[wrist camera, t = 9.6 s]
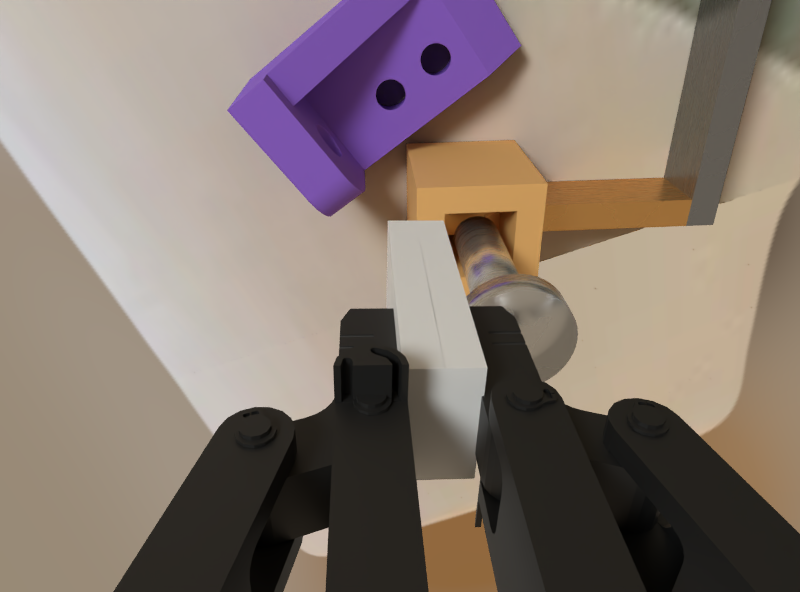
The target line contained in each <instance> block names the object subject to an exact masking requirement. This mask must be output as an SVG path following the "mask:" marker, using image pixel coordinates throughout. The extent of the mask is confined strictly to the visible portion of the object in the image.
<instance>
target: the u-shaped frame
mask: <svg viewBox="0 0 800 592" xmlns="http://www.w3.org/2000/svg"><path fill="white" fill-rule="evenodd" d="M771 1H772V0H701V4H700V8H699V13H698V18H697V23H696V27H695V32H694V37H693V42H692V47H691V51H690V56H689V61H688V66H687V71H686V75H685V80H684V85H683V90H682V94H681V99H680V104H679V109H678V114H677V118H676V123H675V128H674V133H673V138H672V142H671V147H670V152H669V157H668V161H667V166H666V171H665V176H664V178H643V179H615V180H587V181H559V182H547V183H548V186H547V195H546V204H545V214H544V223H543V231H565V230H590V229H616V228H642V227H667V226H693V225H713V223H714V219H715V215H716V211H717V208H718V204H719V200H720V196H721V192H722V188H723V185H724V181H725V177H726V173H727V169H728V166H729V162H730V158H731V154H732V150H733V146H734V143H735V139H736V135H737V131H738V127H739V123H740V120H741V116H742V112H743V108H744V104H745V100H746V97H747V93H748V89H749V85H750V81H751V77H752V74H753V70H754V66H755V62H756V58H757V54H758V51H759V47H760V43H761V39H762V35H763V31H764V28H765V24H766V20H767V16H768V12H769V9H770V5H771ZM474 216H482V217H486V218H488V219H490V220H491V221H492V222H493V223H494V224H495V225H496V227H497V229H498V232H499V223H500V212H481V213H455V214H445V227H446V231H447V234H448V235H454V233H455V230H456V228H457V227H458V225H459V224H460V223H461V222H462V221H464V220H465V219H467V218H470V217H474Z"/></svg>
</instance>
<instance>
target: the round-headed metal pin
mask: <svg viewBox="0 0 800 592" xmlns="http://www.w3.org/2000/svg"><path fill="white" fill-rule="evenodd" d="M454 243H455V247H456V250H457V253H458V256H459V259H460V262H461V266H462V269H463V272H464V275H465V278H466V281H467V285H468V288H469V291H470V293H469V294H468V295H467V296H466V298H467V301H468V304H469V306H502V307H504V308H505V309H506V310H507V311H508V312H509V313H511V314H512V315H513V316H514V317H515V318H516V320H517V323H518V325H519V327H520V330H521V334H522V335H523V337H524V340H525V342H526V343H525V344H526V345H527V347H528V349H529V352H530V354H531V357H532V359H533V361H534V364H535V366H536V369H537V371H538V374H539V376H540V378H541V381H542V382H544V381H546V380H548V379H550V378H551V377H553V376H554V375H555V374H557V373H558V372H559V371H560V370H561V369H562V368H563V367H564V366H565V365H566V363H567V362H568V361H569V359H570V358H571V356H572V354H573V352H574V349H575V347H576V343H577V336H578V331H577V324H576V320H575V318H574V316H573V314H572V312H571V310H570V309H569V307H568V305H567V303H566V302H565V300H564V298H563V296H562V295H561V293H560V292H559V291H558V290H557V289H556V288H555V287H554V286H553V285H552V284H551V283H549V282H547V281H546V280H544V279H541V278H539V277H536V276H532V275H527V274H519V273H518V271H517V269H516V267H515V265H514V263H513V261H512V259H511V257H510V255H509V252H508V250H507V248H506V246H505V244H504V242H503V240H502V238H501V236H500V234H499V232H498V229H497V227H496V225H495V224H494V223H493V222H492V221H491V220H490V219H488V218H486V217H482V216H474V217H470V218H467V219H465V220H464V221H462V222H461V223H460V224H459V225H458V227H457V228H456V230H455V233H454Z"/></svg>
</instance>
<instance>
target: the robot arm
mask: <svg viewBox="0 0 800 592" xmlns="http://www.w3.org/2000/svg"><path fill="white" fill-rule="evenodd" d="M386 308H387V309H350V310H349V311H348V312H347V314H346V315H345V316H344V318H343V319H342V320H341V326H340V349H339V356H338V357H337V358H336V360H335V363H334V366H333V369H334V396H335V398H334V400H333V402H332V403H331V404H330V405H329V406H328V407H327V408H325V409H324V410H322V411H321V412H319V413H317V414H315V415H312V416H309V417H307V418H303V419H299V420H295V421H292V419H291V418H290V417H289V416H288V415H286V414H285V413H284V412H283V411H280V410H277V409H273V408H270V407H254V408H250V409H246V410H242V411H239V412H237V413H236V414H234V415H232V416H230V417H228V418H227V419H226V420H225V421H224V422H223V423H222V424H221V425H220V426H219V428H218V429H217V431H216V432H215V434H214V435H213V437H212V439H211V440H210V442H209V443H208V445H207V447H206V448H205V449H204V451H203V453H202V454H201V456H200V458H199V459H198V461H197V462H196V464H195V465H194V467H193V468H192V470H191V471H190V473H189V475H188V476H187V478H186V479H185V481H184V482H183V484H182V485H181V487H180V489H179V490H178V492H177V493H176V495H175V496H174V498H173V499H172V501H171V503H170V504H169V506H168V507H167V509H166V511H165V512H164V514H163V515H162V517H161V518H160V520H159V521H158V523H157V524H156V526H155V528H154V529H153V531H152V532H151V534H150V535H149V537H148V539H147V540H146V542H145V543H144V545H143V546H142V548H141V549H140V551H139V553H138V554H137V556H136V557H135V559H134V560H133V562H132V564H131V565H130V567H129V568H128V570H127V571H126V573H125V575H124V576H123V578H122V579H121V581H120V582H119V584H118V585H117V587H116V589H115V590H114V592H283V591H284V588H285V585H286V583H287V580H288V578H289V575H290V572H291V570H292V567H293V564H294V562H295V559H296V557H297V554H298V551H299V549H300V546H301V543H302V538H303V536H304V535H307V534H310V533H313V532H316V531H319V530H322V529H325V528H328V527H329V533H328V553H327V575H326V592H428V582H427V573H426V564H425V555H424V546H423V537H422V527H421V518H420V509H419V500H418V491H417V482H416V480H432V479H470V478H474V477H475V468H476V460H477V464H478V469H479V473H480V486H479V494H478V502H477V510H476V520H475V527H481V521H482V519H483V523H484V528H485V533H486V538H487V542H488V547H489V552H490V557H491V561H492V566H493V571H494V576H495V581H496V585H497V590H498V592H800V534H799V533H798V532H797V531H796V530H795V529H794V528H793V527H792V526H791V525H790V524H789V523H788V522H787V521H786V520H785V519H784V518H783V517H782V516H781V515H780V514H779V513H778V512H777V511H776V510H775V509H774V508H773V507H772V506H771V505H770V504H768V503H767V502H766V501H765V500H764V499H763V498H762V497H761V496H760V495H759V494H758V493H757V492H756V491H755V490H754V489H753V488H752V487H751V486H750V485H749V484H748V483H747V482H746V481H745V480H744V479H743V478H742V477H741V476H740V475H739V474H738V473H737V472H736V471H735V470H734V469H732V467H731V466H729V464H727V462H725V461H724V460H723V459H722V458H721V457H720V456H719V455H718V454H717V453H716V452H715V451H714V450H713V449H712V448H711V447H710V446H709V445H708V444H707V443H706V442H705V441H704V440H703V439H702V438H701V437H700V436H699V435H698V434H697V433H696V432H695V431H694V430H693V429H692V428H691V427H690V426H689V425H688V424H687V423H685V422H684V421H683V420H682V419H681V418H680V417H679V416H678V415H677V414H676V413H674V412H673V411H671V410H670V409H669V408H667V407H665V406H663V405H661V404H658V403H656V402H654V401H650V400H644V399H639V398H633V399H623V400H621V401H618V402H616V403H614V404H613V405H612V407H611V408H610V409H609V411H608V415H602V414H597V413H592V412H587V411H583V410H579V409H576V408H572V407H570V406H568V405H565V404H564V401H563V399H562V397H561V396H560V395H559V393H558V392H557V391H556V389H554V388H553V387H551V386H550V385H548V384H547V383H545V382H542V381H541V378H540V376H539V374H538V371H537V369H536V366H535V364H534V361H533V359H532V357H531V354H530V352H529V349H528V347H527V345H526V344H525V343H526V342H525V340H524V337H523V335H522V334H521V330H520V327H519V325H518V323H517V320H516V318H515V317H514V316H513V315H512V314H511V313H509V312H508V311H507V310H506V309H505V308H504V307H502V306H469V304H468V301H467V298H466V294H465V291H464V288H463V284H462V281H461V278H460V274H459V271H458V268H457V264H456V261H455V257H454V254H453V251H452V247H451V244H450V241H449V237H448V234H447V231H446V227H445V224H444V221H388V240H387V304H386Z"/></svg>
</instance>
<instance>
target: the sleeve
mask: <svg viewBox="0 0 800 592" xmlns="http://www.w3.org/2000/svg"><path fill="white" fill-rule="evenodd" d="M406 151H407V221H444V224H445V214H455V213H481V212H500V223H499V234H500V236H501V238H502V240H503V242H504V244H505V246H506V248H507V250H508V252H509V255H510V257H511V259H512V261H513V263H514V265H515V267H516V269H517V271H518V273H519V274H527V275H532V276H536V277H538V268H539V259H540V250H541V241H542V232H543V223H544V214H545V204H546V195H547V186H548V183H547V182H546V181H545V179H544V178H543V177H542V175H541V174H540V173H539V171H538V170H537V169H536V168H535V166H534V165H533V164H532V162H531V161H530V160H529V159H528V157H527V156H526V155H525V153H524V152H523V151H522V149H521V148H520V147H519V146H518V144H517V143H516V142H515V140H503V141H472V142H442V143H411V144H406ZM448 237H449V241H450V244H451V247H452V251H453V254H454V257H455V261H456V264H457V268H458V271H459V274H460V278H461V281H462V284H463V288H464V291H465V294H466V296H467V295H468V294H469V293H470V291H469V288H468V285H467V281H466V278H465V275H464V272H463V269H462V266H461V262H460V259H459V256H458V253H457V250H456V247H455V243H454V235H448Z"/></svg>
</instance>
